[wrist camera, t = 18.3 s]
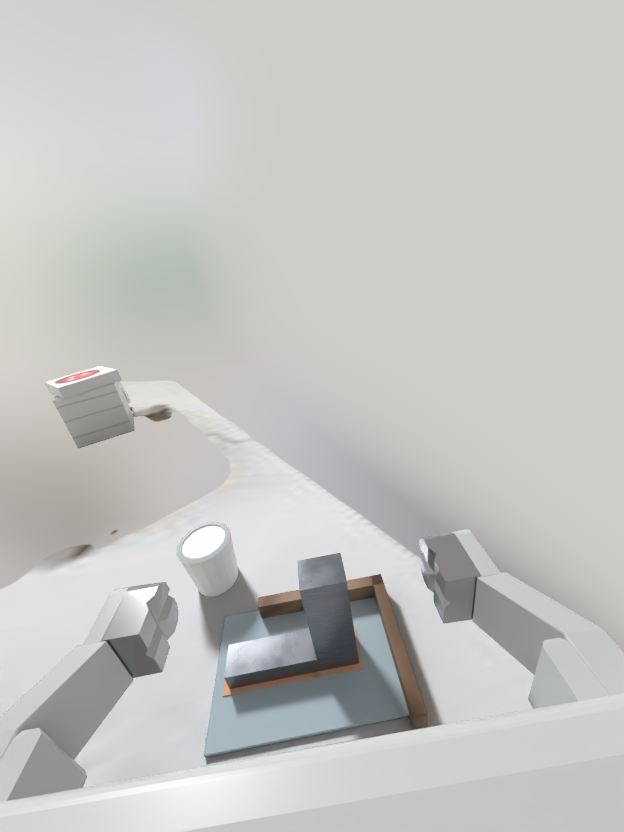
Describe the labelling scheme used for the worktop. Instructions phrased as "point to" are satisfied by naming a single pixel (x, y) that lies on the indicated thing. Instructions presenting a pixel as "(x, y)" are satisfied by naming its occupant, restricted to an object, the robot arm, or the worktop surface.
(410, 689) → the corner walls
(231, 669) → the bracket
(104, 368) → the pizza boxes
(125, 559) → the worktop surface
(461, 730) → the robot arm
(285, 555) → the worktop surface
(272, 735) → the mat
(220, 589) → the white cylinder
